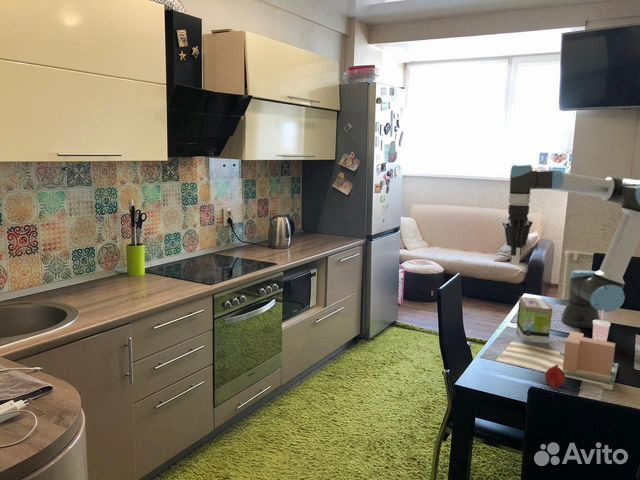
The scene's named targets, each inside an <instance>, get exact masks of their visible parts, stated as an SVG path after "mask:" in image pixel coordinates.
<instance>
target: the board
mask: <svg viewBox="0 0 640 480" xmlns="http://www.w3.org/2000/svg"><path fill="white" fill-rule="evenodd" d="M564 352H565V351H564ZM564 352H563V351H559V350H558V351H557V350H553V349H549V348H543V347H539V346H535V345H529V344H526V343H525V344H524V343H520V342H516V341H511V342H510V343H508V345H507V346H506V348H505V349H504V350H503V352H501V354H500V355H499V356H498V357H497V358H496V359H495V361H496V362H501V363H505V364H510V365H515V366H518V367H523V368H527V369H531V370H535V371H541V372H544V373H546V372H547V370H548V369H550V368H551V367H553V366H555V365H558V367H559V368H560V369H561V370H562V371H563V372H564V374H565V378H566V377H567V378H571V379H575V380H580V381H583V382H588V383H592V384H597V385H600V387H601V389H606V390H610V391H613V390H614V389H613V388H614V384H615V381H616V377H617V372H618V369H619V363H617V362H616V363H615V362H613V367H612V373H611V376H609V375H605V374H600V373H596V372H591V371H587V370H582V369H578V368H577V370H576V372H571V371H567V370H563V361H564Z"/></svg>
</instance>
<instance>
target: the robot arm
mask: <svg viewBox="0 0 640 480" xmlns="http://www.w3.org/2000/svg"><path fill="white" fill-rule="evenodd" d="M509 174H510V175H509V177H510V178H509V195H508V196H509V197H508V203H509V205H508V212H507V213H508V215H509V216H508V219H507V221H505V222H503V223H502V226H503V228H504V233H505V241H506V245H507V246H508V247H510V248H511V249H510V255H511V264H514V265H519V264H520V259H521V258H520V256H521V255H522V248H523V249H524V247H525V246H526V245H527V241H528V238H529V234H530V230H531V227H532V226H533V221H532V220H531V221H530V220H529V218H528V215H529V213H530V206H529V204H530V200H531V198H530V196H531V190H552V191H560V192H565V193H566V192H567V193H572V194H579V195H583V196H590V197H598V198H600V199H601V200H602V201H606V202H612V203H616V204H618V205H621V207H620V210H621V212H622V216H621V218H620V221H619V222H618V225H617V227H616V230H615V232H614V235H613V236H612V237H613V238H612V239H611V242H610V244H609V245H608V246H609V247H608V249H607V251H606V254H605V255H604V258H603V260H602V263H601V265H600V268H599V269H598V270H597V271H596V270H583V269H581V270H580V269H579V270H575V269H574V270H572V271H571V273H570V277H569V284H568V285H569V286H568V288H569V289H568V296H567V297H568V298H567V304H566V306H565V308H564V311H563V313H562V315H561V321H562V322H563V323H564V324H566V325H569V326H572V327H576V328H581V329H593V320H601V318H600V314H599V311H600V312H602V310H604V312H603V313H611V312H614V311H617V310H619V309H620V307H621V306H622V305H623V304H624V302H625V298H626V297H625V296H626V295H625V292H624V290H623V289H624V286H625V284H626V283H625V281H624V278H623V277H624V275H625V272H626V270H627V268H628V265H630V264H629V263H630V261H631V259H632V256H633V254H634V252H635V249H636V247H637V245H638V242H639V241H640V178H634V177H628V178H626V177H624V178H623V177H622V178H621V177H610V176H608V177H606V178H600V177H593V176H588V175H581V174H573V173H569V172H563V171H562V170H561V169H554V168H553V169H544V168H537V167H533V166H532V165H531V164H523V163H522V164H520V163H519V164H516V163H515V164H513V165H512V166H511V168H510V173H509Z"/></svg>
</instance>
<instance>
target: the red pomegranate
mask: <svg viewBox="0 0 640 480" xmlns="http://www.w3.org/2000/svg"><path fill="white" fill-rule="evenodd" d="M544 380H545V381H546V383H547V384H548V385H549V386H550V387H551V388H552V389H554V390H555V389H558V388H559V387H561V386H563V385H564V384H565V382H566V376H565V374H564V372H563V371H562V370H561V369H560V368H559V367H558V365H555V366H553V367H551V368H550V369H548V370H547V372H545V374H544Z"/></svg>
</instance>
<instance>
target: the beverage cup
mask: <svg viewBox="0 0 640 480" xmlns="http://www.w3.org/2000/svg"><path fill="white" fill-rule="evenodd" d="M604 313H605V312H604V310H602V311H601V318H600V320H593V328H592V339H595V340H601V341H606V342H608V336H609V331H610V327H611V322H609V321H607V320H603V319H604Z"/></svg>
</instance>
